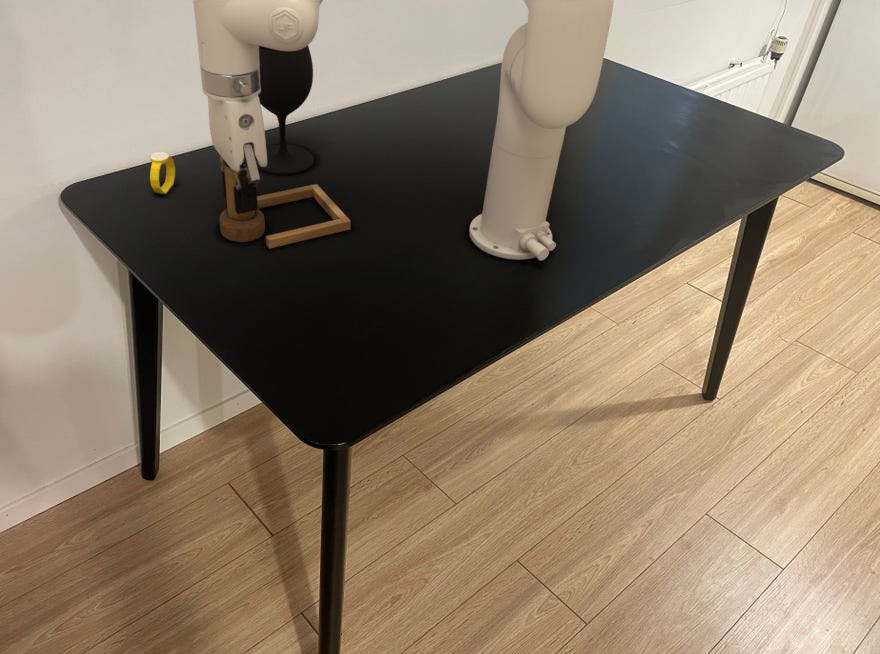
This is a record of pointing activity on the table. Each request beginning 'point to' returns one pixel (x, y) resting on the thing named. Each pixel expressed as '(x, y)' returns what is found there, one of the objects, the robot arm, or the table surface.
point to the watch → (156, 161)
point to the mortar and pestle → (239, 215)
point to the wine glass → (285, 103)
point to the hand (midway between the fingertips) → (240, 202)
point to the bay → (308, 232)
